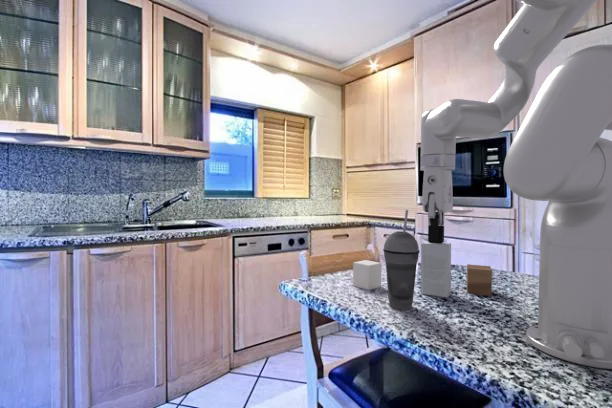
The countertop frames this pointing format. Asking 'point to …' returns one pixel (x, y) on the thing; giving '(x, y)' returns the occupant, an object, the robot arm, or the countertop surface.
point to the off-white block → (367, 274)
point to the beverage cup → (401, 267)
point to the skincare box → (436, 269)
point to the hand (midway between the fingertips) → (435, 242)
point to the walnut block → (479, 279)
